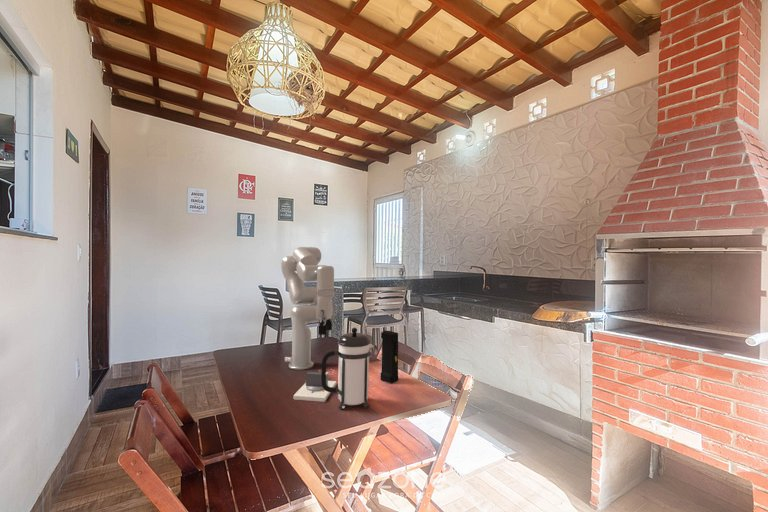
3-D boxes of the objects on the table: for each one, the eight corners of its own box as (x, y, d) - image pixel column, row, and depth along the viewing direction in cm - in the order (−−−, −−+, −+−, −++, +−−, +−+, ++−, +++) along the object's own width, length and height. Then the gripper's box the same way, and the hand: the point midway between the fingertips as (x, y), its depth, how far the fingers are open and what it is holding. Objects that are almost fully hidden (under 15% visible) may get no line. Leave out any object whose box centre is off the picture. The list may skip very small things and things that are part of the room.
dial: (303, 390, 142) (303, 375, 142) (310, 382, 151) (310, 368, 151) (323, 391, 141) (324, 377, 141) (329, 383, 150) (330, 369, 150)
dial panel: (293, 399, 137) (293, 395, 137) (308, 382, 155) (308, 378, 155) (324, 401, 136) (324, 397, 136) (336, 384, 153) (336, 380, 153)
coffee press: (351, 391, 146) (352, 321, 146) (379, 402, 136) (380, 327, 136) (319, 405, 133) (320, 328, 132) (348, 418, 123) (350, 335, 122)
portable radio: (400, 381, 159) (401, 327, 159) (392, 384, 155) (393, 329, 154) (388, 376, 164) (389, 325, 164) (379, 379, 160) (380, 326, 160)
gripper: (322, 291, 160) (322, 328, 160) (311, 295, 143) (311, 336, 143) (338, 291, 160) (338, 328, 159) (328, 295, 142) (328, 336, 142)
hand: (325, 332), depth 151 cm, fingers open, 9 cm apart
